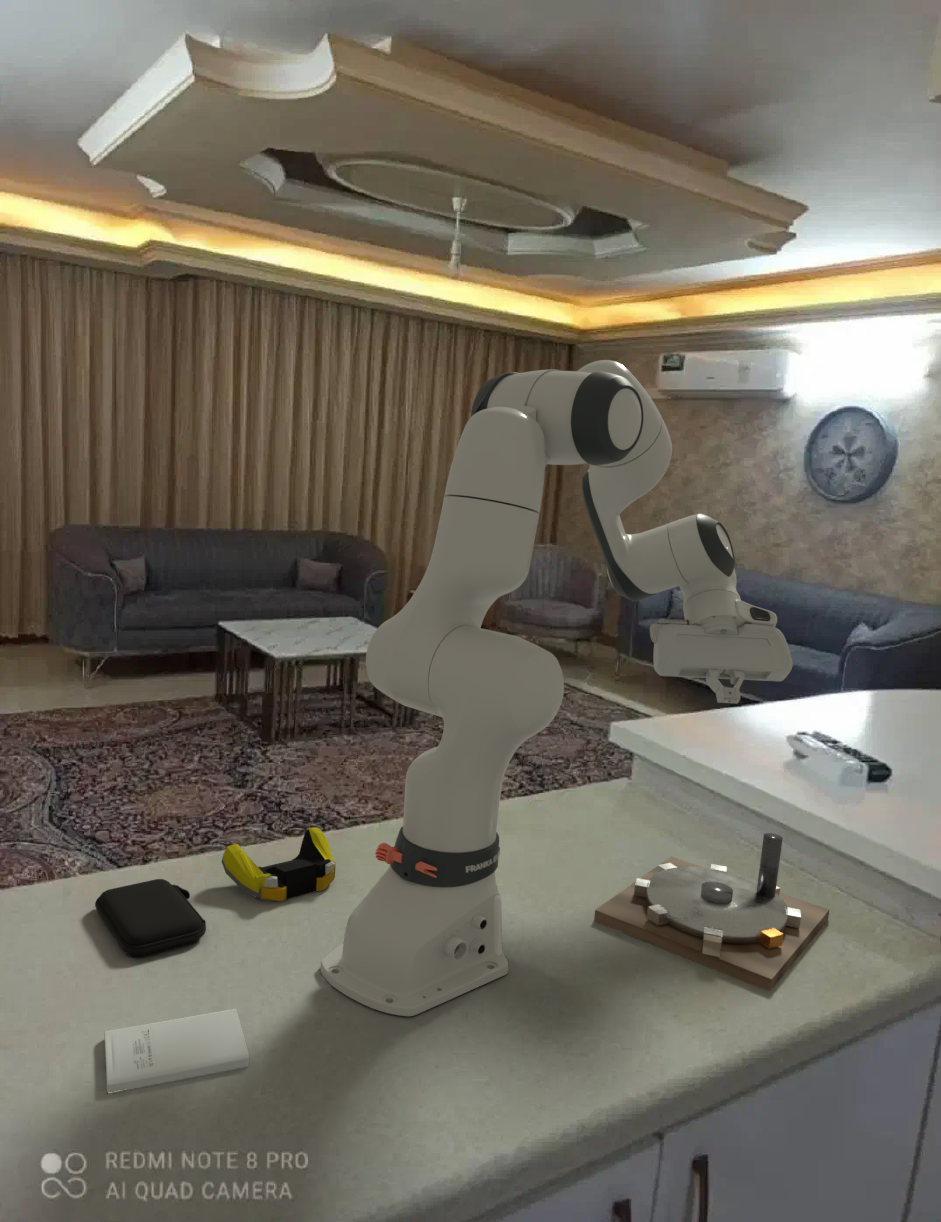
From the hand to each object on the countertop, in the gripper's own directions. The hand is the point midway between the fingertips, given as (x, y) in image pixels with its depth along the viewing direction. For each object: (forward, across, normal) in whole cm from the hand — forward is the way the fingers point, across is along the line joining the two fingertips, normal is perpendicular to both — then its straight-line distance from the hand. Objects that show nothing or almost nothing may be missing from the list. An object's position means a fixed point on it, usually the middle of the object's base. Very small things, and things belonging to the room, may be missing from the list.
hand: (729, 701), depth 132 cm
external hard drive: (+50, -67, -14) cm, 85 cm away
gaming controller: (+25, -61, +11) cm, 67 cm away
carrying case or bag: (+34, -75, +2) cm, 82 cm away
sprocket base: (+29, -5, +7) cm, 30 cm away
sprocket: (+28, -5, +6) cm, 29 cm away
